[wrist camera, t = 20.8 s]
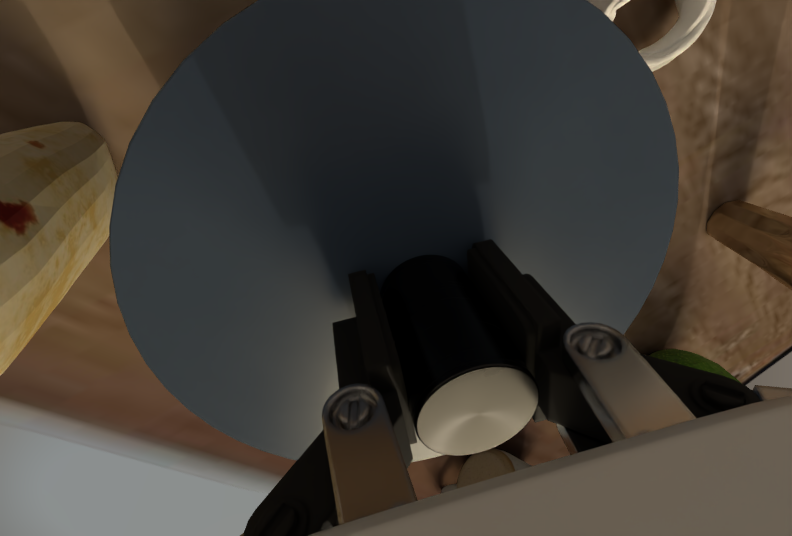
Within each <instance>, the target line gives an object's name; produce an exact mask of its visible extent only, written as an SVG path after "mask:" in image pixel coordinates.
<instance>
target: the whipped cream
mask: <svg viewBox="0 0 792 536" xmlns="http://www.w3.org/2000/svg"><path fill="white" fill-rule="evenodd" d="M587 1H588V2H590V3H591V4H593V5H594V6H596V7H597V8H599V9H600V10H601V11H602V12H603V13H604V14H605V15H606V16H607V17H608V18H609V19H610V20H611V21H613V20H614V18H615V16H616V10H617V9H618V8H620V7H621V6H623V5H624V4H626V3H627V2H629V1H630V0H587ZM675 4H676V6H677V9H678V15H679V17H678V20H677V22H676V24H675V25H674V26H673V27H672V29H671V30H670V31H669V32H668V33H667V34H666V35H665V36H664V37H663V38H661V39H660V40H658V41H657V42H655V43H654V44H652V45H650V46H648V47H646V48H643V49H641V50H640V51H638V52H639V53H640V55H641V56H642V58H643V59H644V61H645V62H646V63H647V65H648V66H649V68H650V69H651V71H652V72H653V71H655V70H657V69H659V68H661V67H663V66H664V65H666V64H668V63H669V62H671V61H672V60H673V59H674V58H675V57H677V56H678V55H679V54H681V53H682V52H684V51H685V50H686V49H687V48H688V47H689V46H691V45H692V44H693V43H694V42H695V41H696V39H697V38H698V37H699V36H700V34H701V33H702V32H703V30H704V28H705V26H706V25H707V23H708V22H709V20H710V18H711V16H712V13H713V11H714V8H715V4H716V0H675Z"/></svg>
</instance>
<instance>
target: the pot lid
mask: <svg viewBox="0 0 792 536" xmlns="http://www.w3.org/2000/svg"><path fill="white" fill-rule="evenodd" d="M678 179H679V166H678V157H677V148H676V139H675V133H674V130H673V126H672V122H671V119H670V115H669V111H668V108H667V104H666V101H665V99H664V97H663V95H662V93H661V90H660V88H659V86H658V84H657V82H656V80H655V77H654V75H653V73H652V71H651V69H650V68H649V66H648V65H647V63H646V62H645V61H644V59H643V58H642V56H641V55H640V53H639V52H638V50H637V49H636V47H635V46H634V45H633V43H632V42H631V40H630V39H629V38H628V37H627V36H626V35H625V34H624V33H623V32H622V31H621V30H620V29H619V28H618V27H617V26H616V25H615V24H614V23H613V22H612V21H611V20H610V19H609V18H608V17H607V16H606V15H605V14H604V13H603V12H602V11H601V10H600V9H599V8H597V7H596V6H594V5H593V4H591V3H590V2H588V1H587V0H258V1H256V2H255V3H253V4H252V5H250V6H249V7H247V8H245V9H244V10H242V11H241V12H239V13H238V14H236V15H235V16H233V17H232V18H230V19H229V20H227V21H226V22H224V23H223V24H222V25H221V26H220V27H218V28H217V29H216V30H215V31H214V32H213V33H212V34H211V35H210V36H209V37H208V38H207V39H205V40H204V41H203V42H202V43H201V44H200V45H199V46H198V47H197V48H196V49H195V50H194V51H193V52H191V53H190V54H189V55H188V56H187V57H186V58H185V59H184V60H183V61H182V62H181V64H180V65H179V66H178V68H177V69H176V70H175V71H174V73H173V74H172V75H171V77H170V78H169V79H168V81H167V82H166V83H165V84H164V86H163V87H162V88H161V90H160V91H159V92H158V93H157V95H156V96H155V97H154V99H153V100H152V102H151V104H150V105H149V107H148V109H147V111H146V113H145V115H144V117H143V118H142V120H141V122H140V124H139V126H138V128H137V130H136V132H135V133H134V135H133V137H132V139H131V141H130V143H129V146H128V149H127V152H126V155H125V158H124V161H123V164H122V167H121V170H120V173H119V176H118V179H117V182H116V185H115V191H114V198H113V205H112V211H111V218H110V225H109V238H110V267H111V273H112V278H113V283H114V288H115V293H116V298H117V303H118V305H119V308H120V311H121V313H122V316H123V319H124V321H125V324H126V327H127V329H128V332H129V334H130V336H131V338H132V340H133V342H134V343H135V345H136V347H137V349H138V350H139V352H140V354H141V356H142V357H143V359H144V361H145V362H146V364H147V365H148V367H149V368H150V369H151V370H152V372H153V373H154V374H155V375H156V377H157V378H158V379H159V380H160V382H161V383H162V384H163V385H164V387H165V388H166V389H167V390H168V391H169V392H170V393H171V394H172V395H173V396H175V397H176V398H177V399H178V400H179V401H180V402H181V403H182V404H183V405H184V406H185V407H186V408H187V409H188V410H190V411H191V412H193V413H194V414H195V415H197V416H198V417H199V418H201V419H202V420H204V421H205V422H206V423H208V424H209V425H211V426H212V427H214V428H216V429H217V430H219V431H221V432H223V433H225V434H226V435H228V436H230V437H232V438H234V439H236V440H237V441H240V442H242V443H245V444H247V445H250V446H252V447H254V448H257V449H259V450H262V451H265V452H268V453H271V454H275V455H278V456H282V457H285V458H289V459H293V460H298V459H299V458H300V457H301V455H302V454H303V453H304V452H305V451H306V449H307V448H308V447H309V446H310V445H311V444H312V442H313V441H314V440H315V439H316V438H317V436H318V435H319V434H320V433H321V432H322V430H323V424H322V409H323V407H324V404H325V402H326V401H327V400H328V398H329V397H330V396H331V395H332V394H333V393H334V392H336V391H337V390H338V389H339V383H338V373H337V364H336V355H335V346H334V336H333V327H332V324H333V323H334V322H338V321H341V320H345V319H349V318H353V317H356V314H355V309H354V304H353V298H352V293H351V288H350V283H349V277H348V274H350V273H354V272H358V271H362V270H366V273H367V274H370V273H374V275H375V278H376V282H377V285H378V289H379V292H380V295H381V299H382V302H383V306H384V309H385V312H386V316H387V319H388V322H389V326H390V329H391V333H392V336H393V339H394V343H395V346H396V350H397V353H398V357H399V361H400V364H401V369H402V373H403V378H404V382H405V387H406V392H407V396H408V401H409V402H408V404H409V410H410V414H411V417H412V421H413V424H414V429H415V434H416V438H417V443H415V444H411V445H410V447H411V451H412V455H413V460H412V462H415V461H421V460H425V459H430V458H434V457H438V456H442V455H458V456H460V455H470V454H475V453H479V452H483V451H486V450H489V449H491V448H494V447H496V446H498V445H500V444H502V443H504V442H505V441H507V440H509V439H510V438H512V437H513V436H514V435H516V434H517V433H518V432H519V431H521V430H522V429H523V428H524V427H525V426H526V425H527V423H528V422H529V421H530V420H531V418H532V416H533V415H534V413H535V411H536V409H537V406H538V403H539V388H538V384H537V382H536V380H535V378H534V377H533V375H532V374H531V372H530V371H529V369H528V368H527V366H526V365H525V363H524V362H523V360H522V358H521V357H520V355H519V354H518V352H517V351H516V349H515V348H514V346H513V345H512V343H511V342H510V340H509V339H508V337H507V336H506V334H505V333H504V331H503V329H502V328H501V326H500V325H499V323H498V322H497V320H496V319H495V317H494V316H493V314H492V313H491V311H490V310H489V308H488V307H487V305H486V303H485V302H484V300H483V299H482V297H481V296H480V294H479V293H478V291H477V290H476V288H475V287H474V285H473V284H472V282H471V281H470V279H469V275H468V262H467V250H468V249H472V244H473V243H477V242H481V241H485V240H489V239H492V240H493V241H494V242H495V243H496V245H497V246H498V247H499V248H500V249H501V250H502V251H503V253H504V254H505V255H506V256H507V257H508V258H509V259H510V261H511V262H512V263H513V264H514V265H515V266H516V267H517V269H518V270H519V271H520V272H521V273H522V274H530V275H531V276H533V277H534V278H535V280H536V281H537V282H538V283H539V284H540V285H541V286H542V287H543V288H544V290H545V291H546V292H547V293H548V294H549V295H550V296H551V297H552V298H553V299H554V301H555V302H556V303H557V304H558V305H559V306H560V307H561V308H562V309H563V311H564V312H565V313H566V314H567V315H568V316H569V317H570V318H571V319H572V320H573V322H574V323H575V324H579V323H586V322H594V323H601V324H604V325H608V326H610V327H612V328H614V329H616V330H618V331H619V332H620V333H622V334H623V335H624V333H625V332H626V330H627V329H628V327H629V326H630V324H631V323H632V322H633V320H634V319H635V317H636V316H637V314H638V313H639V311H640V309H641V307H642V306H643V304H644V302H645V300H646V298H647V297H648V295H649V293H650V291H651V289H652V287H653V285H654V283H655V281H656V278H657V276H658V273H659V271H660V269H661V266H662V264H663V262H664V259H665V256H666V252H667V249H668V245H669V242H670V239H671V235H672V232H673V226H674V220H675V214H676V208H677V202H678Z"/></svg>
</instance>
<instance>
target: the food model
mask: <svg viewBox="0 0 792 536" xmlns="http://www.w3.org/2000/svg"><path fill="white" fill-rule="evenodd" d="M117 179H118V177H117V174H116V171H115V168H114V165H113V161H112V158H111V155H110V152H109V150H108V147H107V145H106V142H105V140H104V139H103V138H102V137H101V136H100V135H99V134H98V133H97V132H96V131H94V130H93V129H91V128H90V127H88V126H87V125H85V124H83V123H80V122H57V123H51V124H46V125H40V126H35V127H30V128H26V129H21V130H17V131H13V132H8V133H4V134H0V376H1V375H2V374H3V372H4V371H5V370H6V369H7V368H8V367H9V365H10V364H11V363H12V362H13V361H14V359H15V358H16V357H17V356H18V355H19V353H20V352H21V351H22V350H23V349H24V347H25V346H26V345H27V344H28V342H29V341H30V340H31V338H32V337H33V336H34V334H35V333H36V332H37V330H38V329H39V328H40V326H41V325H42V324H43V322H44V321H45V320H46V318H47V317H48V316H49V315H50V314H51V312H52V311H53V310H54V309H55V307H56V306H57V305H58V304H59V302H60V301H61V300H62V298H63V297H64V296H65V294H66V293H67V292H68V290H69V289H70V287H71V286H72V285H73V283H74V282H75V281H76V279H77V278H78V277H79V275H80V274H81V273H82V271H83V270H84V269H85V267H86V266H87V265H88V264H89V262H90V261H91V260H92V258H93V257H94V256H95V254H96V253H97V252H98V250H99V249H100V248H101V246H102V245H103V244H104V242H105V241H106V240H107V238H108V236H109V225H110V218H111V211H112V205H113V198H114V191H115V185H116V182H117Z"/></svg>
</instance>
